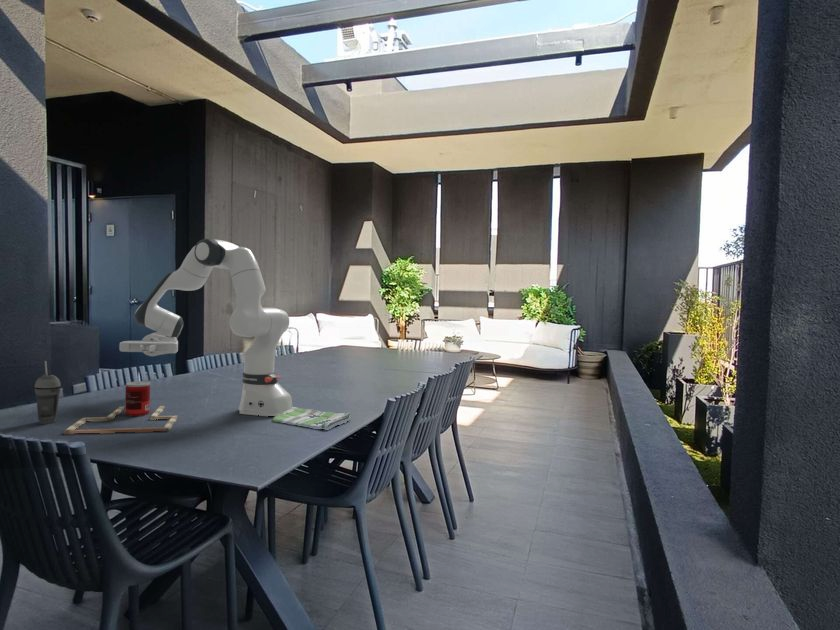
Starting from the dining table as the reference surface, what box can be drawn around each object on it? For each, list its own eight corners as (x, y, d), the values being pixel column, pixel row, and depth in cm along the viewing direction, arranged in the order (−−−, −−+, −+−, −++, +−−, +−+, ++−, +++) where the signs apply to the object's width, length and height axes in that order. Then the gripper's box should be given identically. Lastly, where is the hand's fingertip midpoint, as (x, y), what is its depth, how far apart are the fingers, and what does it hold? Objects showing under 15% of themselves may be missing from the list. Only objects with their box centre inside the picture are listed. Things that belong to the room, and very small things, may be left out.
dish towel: (326, 432, 175) (326, 422, 175) (270, 423, 184) (270, 413, 183) (352, 421, 191) (352, 412, 191) (299, 413, 199) (299, 404, 199)
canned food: (146, 410, 193) (147, 380, 192) (151, 414, 187) (152, 384, 186) (123, 412, 188) (123, 382, 187) (127, 417, 182) (128, 385, 181)
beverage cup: (43, 425, 167) (44, 363, 166) (28, 423, 170) (28, 361, 169) (66, 420, 174) (67, 360, 173) (50, 418, 176) (51, 359, 176)
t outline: (97, 409, 190) (97, 407, 190) (184, 408, 198) (184, 405, 198) (63, 434, 159) (63, 431, 159) (168, 431, 167) (168, 428, 167)
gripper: (124, 336, 206) (114, 340, 193) (181, 337, 212) (174, 340, 199) (124, 352, 207) (114, 357, 193) (180, 352, 212) (174, 357, 199)
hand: (145, 348), depth 196 cm, fingers closed
